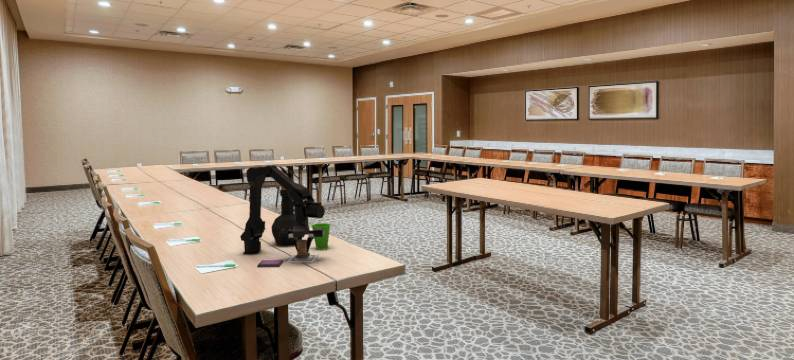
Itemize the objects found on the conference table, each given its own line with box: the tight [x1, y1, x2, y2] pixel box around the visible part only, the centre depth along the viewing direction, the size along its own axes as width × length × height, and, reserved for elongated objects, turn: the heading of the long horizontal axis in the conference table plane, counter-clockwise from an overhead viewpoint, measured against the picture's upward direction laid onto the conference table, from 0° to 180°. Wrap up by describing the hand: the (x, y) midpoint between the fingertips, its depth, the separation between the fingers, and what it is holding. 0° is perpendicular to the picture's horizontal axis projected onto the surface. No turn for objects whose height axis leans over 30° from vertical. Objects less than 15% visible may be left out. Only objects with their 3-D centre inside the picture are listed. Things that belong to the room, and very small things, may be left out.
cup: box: [310, 222, 331, 250], centre depth 228 cm, size 9×9×11 cm
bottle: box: [271, 185, 303, 247], centre depth 237 cm, size 16×16×30 cm
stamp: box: [295, 239, 311, 258], centre depth 210 cm, size 5×5×7 cm
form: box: [286, 254, 320, 264], centre depth 211 cm, size 12×11×1 cm
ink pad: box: [257, 259, 284, 268], centre depth 203 cm, size 9×7×1 cm
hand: (302, 252), depth 211 cm, fingers closed on stamp, 4 cm apart
